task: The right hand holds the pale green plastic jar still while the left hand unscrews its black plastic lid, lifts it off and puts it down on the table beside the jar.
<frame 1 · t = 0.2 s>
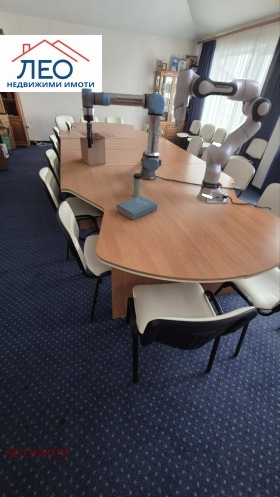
left hand: (90, 146, 173), 28 cm above the table, tool pointing down, fingers open, 13 cm apart
right hand: (177, 128, 143), 48 cm above the table, tool pointing down, fingers open, 8 cm apart
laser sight: (150, 164, 240), on the table
book: (137, 211, 149), on the table
lid: (137, 174, 160), point 16 cm above the table, screwed on, not yet turned
box: (93, 161, 237), on the table
jar: (136, 195, 170), on the table
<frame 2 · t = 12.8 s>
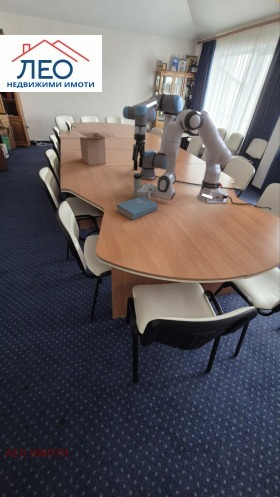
left hand: (138, 168, 158), 21 cm above the table, tool pointing down, fingers open, 8 cm apart
right hand: (135, 187, 166), 6 cm above the table, tool horizontal, fingers closed on jar, 5 cm apart
jar: (136, 195, 170), on the table, touching right hand
everything else where it was.
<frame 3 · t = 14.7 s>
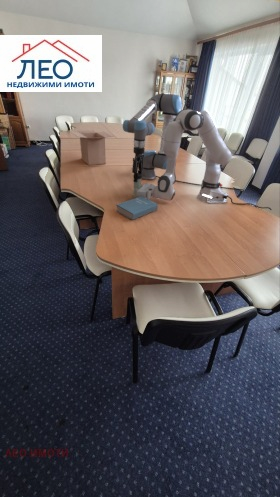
left hand: (137, 180, 163), 12 cm above the table, tool pointing down, fingers closed on lid, 6 cm apart
right hand: (135, 187, 166), 6 cm above the table, tool horizontal, fingers closed on jar, 5 cm apart
lid: (137, 174, 160), point 16 cm above the table, screwed on, not yet turned, touching left hand
jar: (136, 195, 170), on the table, touching right hand
everything else where it was.
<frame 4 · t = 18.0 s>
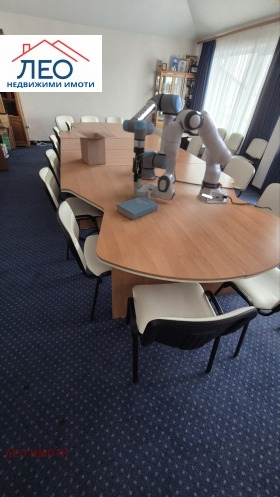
left hand: (137, 180, 163), 12 cm above the table, tool pointing down, fingers closed on lid, 6 cm apart
right hand: (135, 187, 166), 6 cm above the table, tool horizontal, fingers closed on jar, 5 cm apart
lid: (137, 174, 160), point 16 cm above the table, turned 113° so far, risen 0.2 cm, still on its thread, touching left hand
jar: (136, 195, 170), on the table, touching right hand
everything else where it was.
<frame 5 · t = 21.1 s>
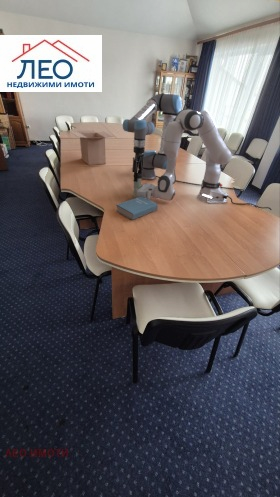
left hand: (137, 180, 163), 12 cm above the table, tool pointing down, fingers closed on lid, 6 cm apart
right hand: (135, 187, 166), 6 cm above the table, tool horizontal, fingers closed on jar, 5 cm apart
lid: (137, 174, 160), point 17 cm above the table, turned 227° so far, risen 0.3 cm, still on its thread, touching left hand
jar: (136, 195, 170), on the table, touching right hand
everything else where it was.
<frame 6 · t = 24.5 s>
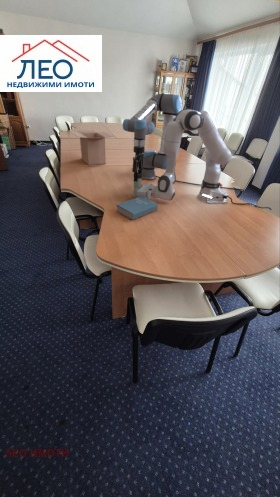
left hand: (137, 179, 162), 13 cm above the table, tool pointing down, fingers closed on lid, 6 cm apart
right hand: (135, 187, 166), 6 cm above the table, tool horizontal, fingers closed on jar, 5 cm apart
lid: (137, 174, 160), point 17 cm above the table, turned 340° so far, risen 0.5 cm, still on its thread, touching left hand
jar: (136, 195, 170), on the table, touching right hand
everything else where it was.
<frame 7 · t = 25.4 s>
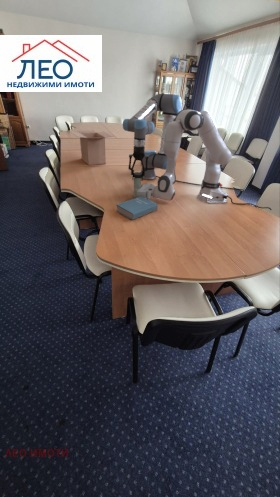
left hand: (137, 179, 162), 13 cm above the table, tool pointing down, fingers closed on lid, 6 cm apart
right hand: (135, 187, 166), 6 cm above the table, tool horizontal, fingers closed on jar, 5 cm apart
lid: (137, 173, 160), point 17 cm above the table, off its thread, touching left hand
jar: (136, 195, 170), on the table, touching right hand
everything else where it was.
when the left hand's fingers open (0 cm above the table, at t = 30.6 s): lid drops 2 cm, point 2 cm above the table.
when the right hand's fingers open (6 cm above the table, at t = 31.7 s): jar stays where it is, on the table.
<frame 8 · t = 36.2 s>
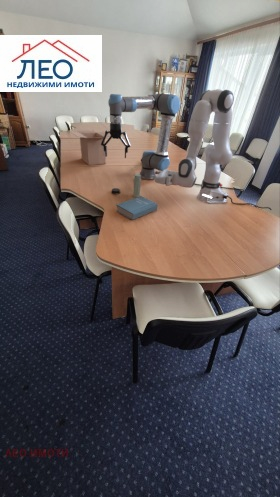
left hand: (115, 156, 157), 27 cm above the table, tool pointing down, fingers open, 13 cm apart
right hand: (153, 174, 155), 19 cm above the table, tool horizontal, fingers open, 8 cm apart
lid: (115, 190, 171), point 2 cm above the table, off its thread
jar: (136, 195, 170), on the table
everything else where it was.
at the end: lid came off its thread; lid point 2.1 cm above the table; the left hand is holding nothing; the right hand is holding nothing; jar tilted 0°; jar moved 0.0 cm from its start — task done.
